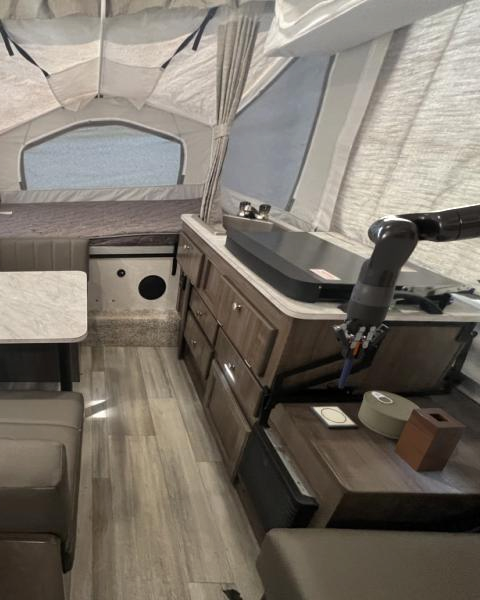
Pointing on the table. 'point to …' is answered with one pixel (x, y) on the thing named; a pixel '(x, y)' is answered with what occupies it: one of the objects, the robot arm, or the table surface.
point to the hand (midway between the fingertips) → (350, 357)
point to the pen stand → (429, 439)
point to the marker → (347, 368)
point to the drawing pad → (333, 417)
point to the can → (385, 413)
